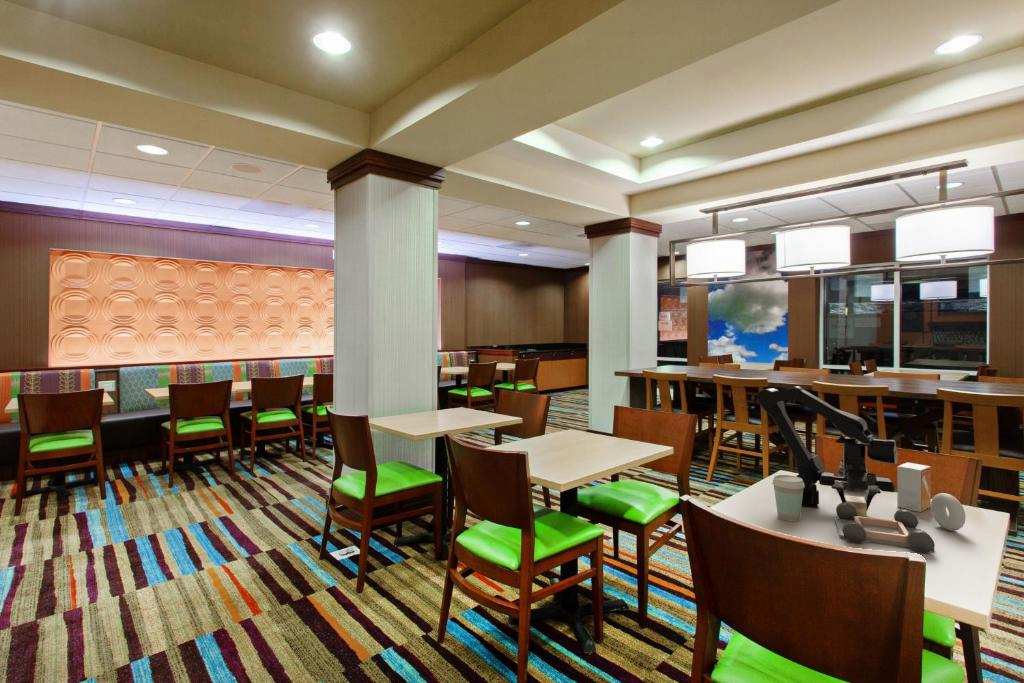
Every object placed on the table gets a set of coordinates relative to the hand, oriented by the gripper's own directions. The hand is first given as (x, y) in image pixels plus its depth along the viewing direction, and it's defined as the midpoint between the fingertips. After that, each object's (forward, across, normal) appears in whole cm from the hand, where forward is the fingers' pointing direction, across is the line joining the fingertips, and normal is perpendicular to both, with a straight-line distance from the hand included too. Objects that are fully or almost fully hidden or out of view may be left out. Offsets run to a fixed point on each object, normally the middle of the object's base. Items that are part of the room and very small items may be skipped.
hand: (855, 509), depth 154 cm
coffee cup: (+1, -18, -12) cm, 22 cm away
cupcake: (+2, +3, +29) cm, 29 cm away
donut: (+1, +21, -4) cm, 21 cm away
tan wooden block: (+1, 0, 0) cm, 1 cm away
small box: (+2, +17, +14) cm, 22 cm away
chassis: (+1, +4, -16) cm, 17 cm away
